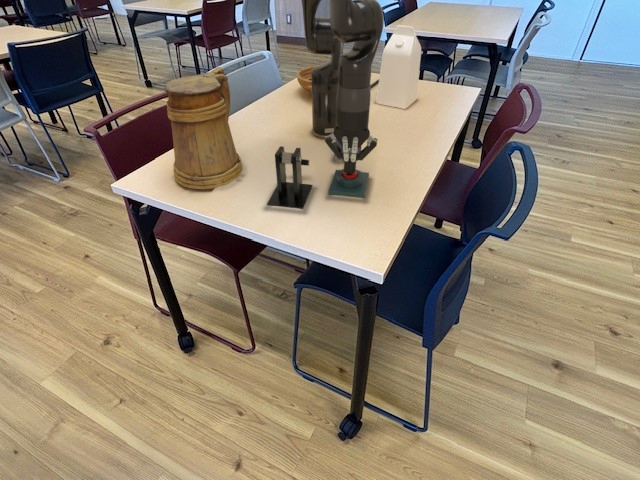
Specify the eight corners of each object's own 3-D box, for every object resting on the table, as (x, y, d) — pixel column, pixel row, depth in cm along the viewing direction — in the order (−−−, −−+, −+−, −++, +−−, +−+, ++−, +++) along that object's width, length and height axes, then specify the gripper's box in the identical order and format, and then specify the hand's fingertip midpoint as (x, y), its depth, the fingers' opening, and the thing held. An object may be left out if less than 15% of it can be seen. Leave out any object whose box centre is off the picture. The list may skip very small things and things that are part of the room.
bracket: (279, 185, 100) (275, 139, 92) (313, 188, 99) (312, 142, 90) (267, 208, 92) (261, 160, 84) (303, 212, 90) (301, 164, 82)
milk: (416, 99, 149) (427, 25, 133) (404, 109, 142) (415, 31, 125) (388, 94, 154) (395, 21, 138) (375, 103, 147) (382, 27, 130)
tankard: (161, 184, 100) (131, 88, 85) (210, 147, 118) (192, 61, 102) (220, 197, 96) (200, 97, 80) (262, 156, 113) (252, 67, 97)
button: (343, 175, 99) (344, 169, 97) (357, 176, 98) (358, 170, 97) (341, 182, 96) (341, 175, 95) (355, 183, 95) (356, 177, 94)
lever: (287, 165, 99) (288, 156, 99) (308, 167, 98) (309, 158, 98) (274, 161, 87) (275, 151, 87) (298, 164, 86) (299, 153, 86)
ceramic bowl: (343, 109, 141) (344, 87, 136) (284, 102, 148) (283, 80, 143) (364, 85, 163) (365, 65, 158) (312, 80, 169) (311, 60, 164)
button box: (335, 176, 103) (336, 162, 101) (368, 179, 102) (369, 165, 99) (328, 197, 95) (328, 183, 93) (364, 201, 94) (365, 187, 91)
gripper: (383, 100, 87) (377, 168, 98) (327, 97, 89) (326, 164, 100) (381, 113, 81) (374, 183, 92) (320, 108, 83) (321, 178, 94)
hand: (349, 173), depth 96 cm, fingers closed
